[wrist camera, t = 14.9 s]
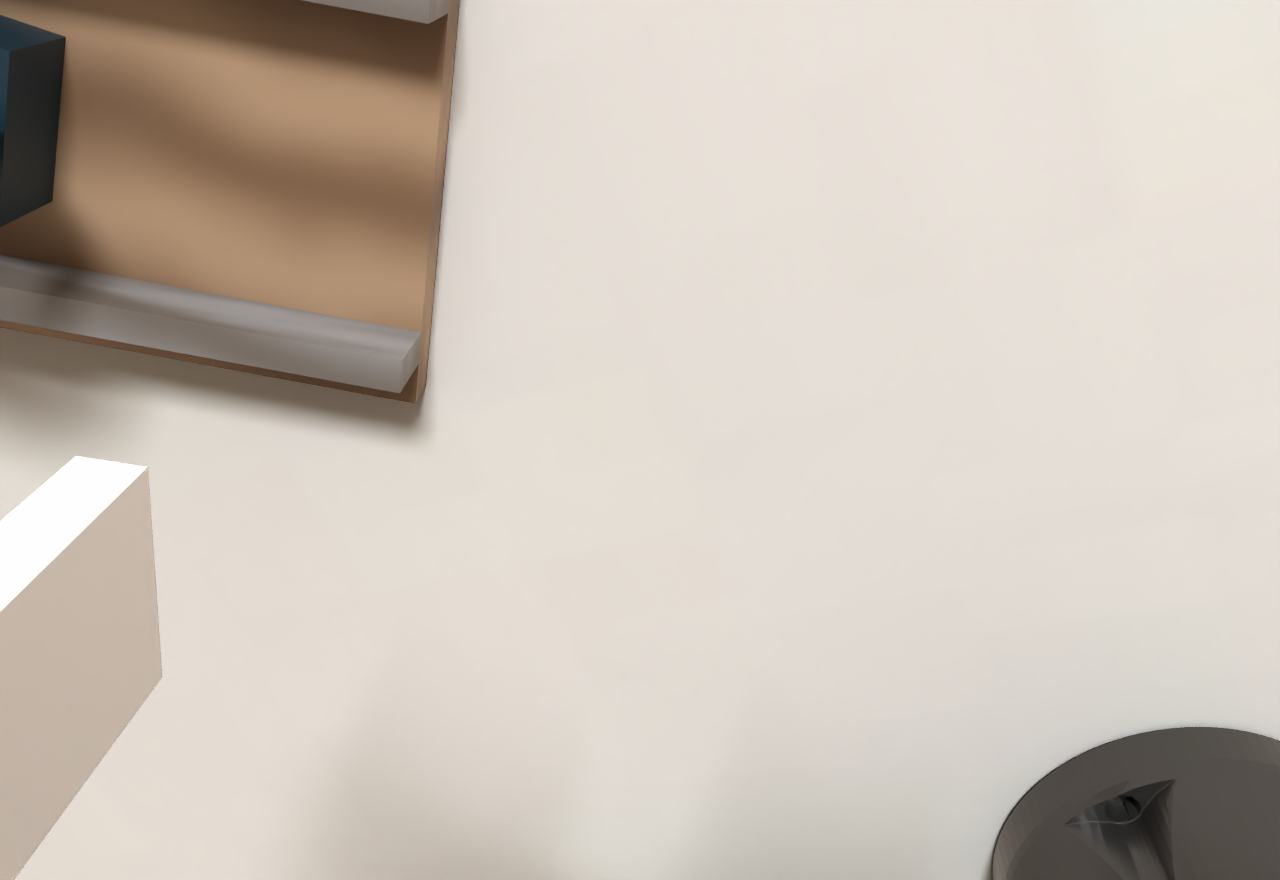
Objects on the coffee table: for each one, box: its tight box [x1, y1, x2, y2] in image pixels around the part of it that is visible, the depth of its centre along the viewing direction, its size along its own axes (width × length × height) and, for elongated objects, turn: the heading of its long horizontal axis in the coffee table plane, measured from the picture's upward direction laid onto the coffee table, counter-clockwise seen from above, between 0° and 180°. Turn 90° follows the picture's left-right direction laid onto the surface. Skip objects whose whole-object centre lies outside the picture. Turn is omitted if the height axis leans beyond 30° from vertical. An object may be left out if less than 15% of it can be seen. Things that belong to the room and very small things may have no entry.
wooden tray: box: [0, 0, 460, 403], centre depth 37 cm, size 16×24×4 cm, turn 81°
